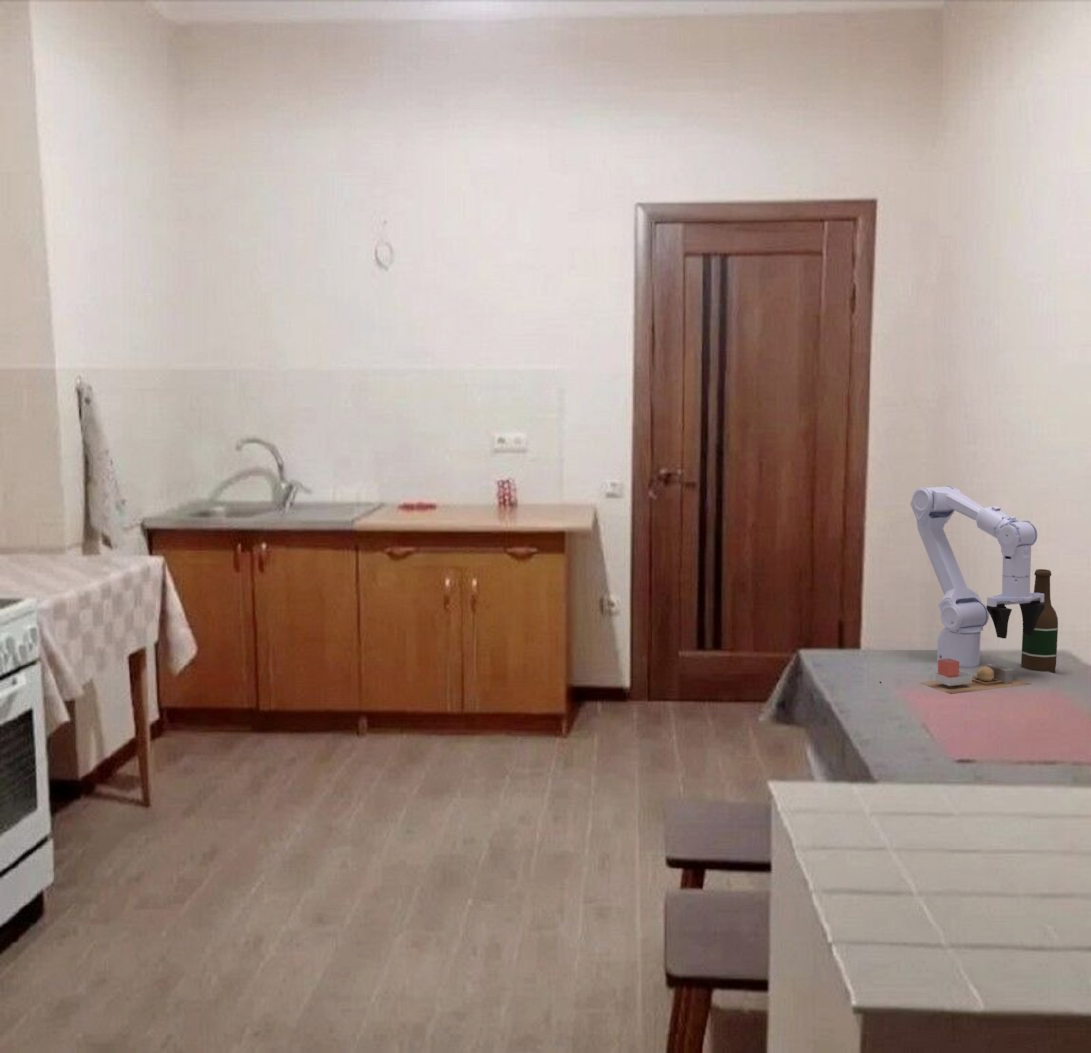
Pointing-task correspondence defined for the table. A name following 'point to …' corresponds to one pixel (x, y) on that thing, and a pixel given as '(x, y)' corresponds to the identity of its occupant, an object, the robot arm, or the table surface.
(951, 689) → the wooden puzzle board
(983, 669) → the walnut
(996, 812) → the table surface
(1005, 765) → the table surface
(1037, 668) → the beer bottle
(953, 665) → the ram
